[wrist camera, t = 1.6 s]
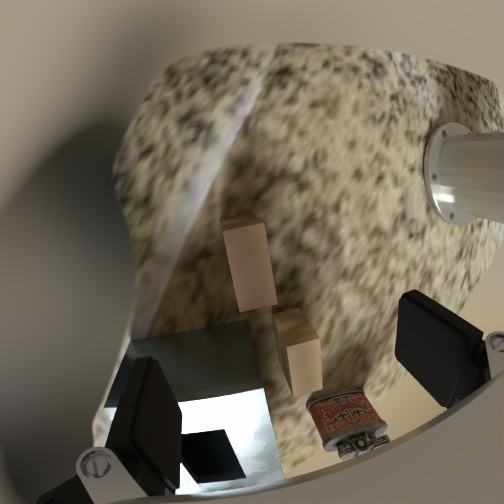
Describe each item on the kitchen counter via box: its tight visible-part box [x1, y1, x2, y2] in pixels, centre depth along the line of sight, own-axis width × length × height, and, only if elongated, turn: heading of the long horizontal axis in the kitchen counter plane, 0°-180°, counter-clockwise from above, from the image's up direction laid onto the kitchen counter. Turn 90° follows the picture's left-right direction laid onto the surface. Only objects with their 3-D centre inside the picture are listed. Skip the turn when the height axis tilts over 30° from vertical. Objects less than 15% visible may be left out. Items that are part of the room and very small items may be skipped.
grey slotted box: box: [104, 320, 284, 495], centre depth 24 cm, size 12×16×10 cm
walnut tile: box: [220, 213, 277, 312], centre depth 22 cm, size 3×6×6 cm, turn 10°
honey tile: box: [272, 308, 323, 397], centre depth 25 cm, size 3×6×6 cm, turn 10°
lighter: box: [306, 387, 390, 460], centre depth 27 cm, size 8×3×10 cm, turn 91°
